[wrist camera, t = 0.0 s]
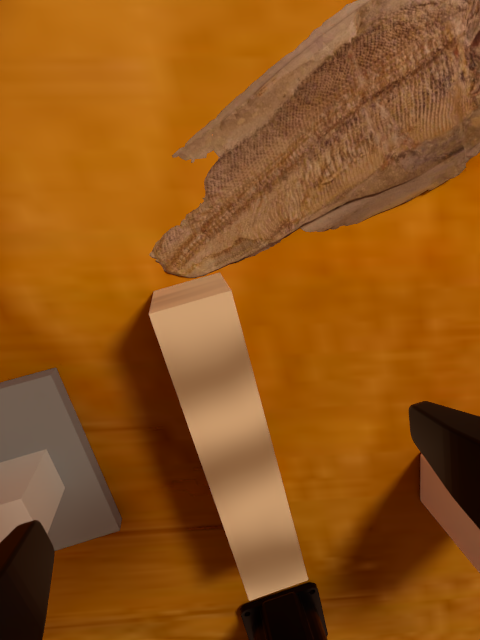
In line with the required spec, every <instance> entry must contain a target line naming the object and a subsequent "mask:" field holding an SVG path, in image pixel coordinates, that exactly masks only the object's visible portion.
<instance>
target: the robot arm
mask: <svg viewBox="0 0 480 640" xmlns="http://www.w3.org/2000/svg"><path fill="white" fill-rule="evenodd" d="M409 420H410V432H411V436H412V439H413V441H414V443H415V444H416V446H417V447H418V449H419V450H420V452H421V453H422V455H423V456H424V457H425V459H426V460H427V462H428V463H429V465H430V466H431V467H432V469H433V470H434V472H435V473H436V475H437V476H438V478H439V479H440V480H441V482H442V483H443V485H444V486H445V488H446V489H447V490H448V492H449V493H450V494H451V496H452V497H453V498H454V500H455V501H456V502H457V503H458V505H459V506H460V507H461V508H462V509H463V510H464V512H465V513H466V514H467V515H468V516H469V518H470V519H471V520H472V521H473V522H474V523H475V525H476V526H477V527H478V528H479V529H480V417H479V416H476V415H473V414H469V413H466V412H462V411H459V410H455V409H452V408H449V407H445V406H442V405H438V404H435V403H431V402H428V401H423V402H419V403H416V404H413V405H411V406H410V407H409ZM53 563H54V547H53V544H52V542H51V540H50V538H49V537H48V535H47V533H46V531H45V529H44V527H43V525H42V524H41V522H40V521H38V520H33V521H29V522H26V523H23V524H20V525H18V526H17V527H15V528H14V529H13V530H12V531H11V532H10V533H9V534H8V535H7V536H6V537H5V538H4V539H3V540H2V541H1V542H0V640H42V637H43V633H44V627H45V621H46V614H47V606H48V599H49V592H50V585H51V577H52V570H53ZM240 610H241V617H242V620H243V623H244V626H245V629H246V632H247V635H248V638H249V640H327V635H328V633H327V628H326V624H325V619H324V615H323V610H322V606H321V602H320V597H319V593H318V589H317V586H316V584H315V583H309V584H306V585H303V586H300V587H297V588H294V589H291V590H288V591H285V592H282V593H279V594H276V595H273V596H270V597H267V598H264V599H262V600H259V601H256V602H253V603H250V604H247V605H244V606H243V607H242V608H241V609H240Z"/></svg>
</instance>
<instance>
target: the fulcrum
mask: <svg viewBox="0 0 480 640" xmlns="http://www.w3.org/2000/svg"><path fill="white" fill-rule="evenodd" d="M33 520H38V521H40V522H41V524H42V525H43V527H44V529H45V531H46V533H47V535H48V537H49V538H50V540H51V542H52V544H53V547H54V551H56V550H59V549H62V548H66V547H69V546H72V545H75V544H78V543H81V542H85V541H88V540H91V539H94V538H97V537H101V536H104V535H107V534H110V533H113V532H117V531H120V527H121V521H122V518H121V516H120V513H119V511H118V509H117V506H116V504H115V502H114V499H113V497H112V495H111V493H110V490H109V488H108V486H107V483H106V481H105V479H104V477H103V474H102V472H101V470H100V467H99V465H98V463H97V460H96V458H95V456H94V454H93V451H92V449H91V447H90V444H89V442H88V440H87V438H86V435H85V433H84V431H83V428H82V426H81V424H80V421H79V419H78V417H77V415H76V412H75V410H74V408H73V405H72V403H71V401H70V399H69V396H68V394H67V392H66V389H65V387H64V385H63V382H62V380H61V378H60V376H59V373H58V371H57V369H56V368H53V369H49V370H45V371H42V372H38V373H34V374H31V375H27V376H23V377H20V378H16V379H12V380H9V381H5V382H1V383H0V542H1V541H2V540H3V539H4V538H5V537H6V536H7V535H8V534H9V533H10V532H11V531H12V530H13V529H14V528H15V527H17V526H18V525H20V524H23V523H26V522H29V521H33Z"/></svg>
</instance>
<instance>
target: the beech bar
mask: <svg viewBox="0 0 480 640" xmlns="http://www.w3.org/2000/svg"><path fill="white" fill-rule="evenodd" d="M149 316H150V319H151V322H152V325H153V328H154V331H155V333H156V336H157V339H158V342H159V345H160V348H161V351H162V353H163V356H164V359H165V362H166V365H167V368H168V370H169V373H170V376H171V379H172V382H173V385H174V388H175V390H176V393H177V396H178V399H179V402H180V405H181V407H182V410H183V413H184V416H185V419H186V422H187V425H188V427H189V430H190V433H191V436H192V439H193V442H194V445H195V447H196V450H197V453H198V456H199V459H200V462H201V464H202V467H203V470H204V473H205V476H206V479H207V482H208V484H209V487H210V490H211V493H212V496H213V499H214V501H215V504H216V507H217V510H218V513H219V516H220V519H221V521H222V524H223V527H224V530H225V533H226V536H227V538H228V541H229V544H230V547H231V550H232V553H233V556H234V558H235V561H236V564H237V567H238V570H239V573H240V575H241V578H242V581H243V584H244V587H245V590H246V593H247V595H248V598H249V601H251V600H254V599H256V598H259V597H262V596H265V595H267V594H270V593H273V592H276V591H279V590H281V589H284V588H287V587H290V586H293V585H295V584H298V583H301V582H304V581H307V580H308V577H307V573H306V569H305V565H304V562H303V558H302V554H301V550H300V547H299V543H298V539H297V535H296V532H295V528H294V524H293V520H292V517H291V513H290V509H289V505H288V502H287V498H286V494H285V490H284V487H283V483H282V479H281V475H280V472H279V468H278V464H277V460H276V457H275V453H274V449H273V445H272V442H271V438H270V434H269V430H268V427H267V423H266V419H265V415H264V412H263V408H262V404H261V400H260V397H259V393H258V389H257V385H256V382H255V378H254V374H253V370H252V367H251V363H250V359H249V355H248V351H247V348H246V344H245V340H244V336H243V333H242V329H241V325H240V321H239V318H238V314H237V310H236V306H235V303H234V299H233V295H232V291H231V289H230V288H229V286H228V285H227V283H226V281H225V280H224V278H223V277H222V275H221V274H220V273H216V274H213V275H209V276H206V277H202V278H199V279H195V280H192V281H188V282H185V283H181V284H178V285H174V286H170V287H167V288H163V289H160V290H156V291H154V292H153V297H152V302H151V306H150V311H149Z"/></svg>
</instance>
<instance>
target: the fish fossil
mask: <svg viewBox="0 0 480 640" xmlns="http://www.w3.org/2000/svg"><path fill="white" fill-rule="evenodd" d="M212 134H213V136H212ZM213 150H214V151H215V153H216V154H217V155H218V156H219V157H220V158H219V159H218V161H217V162H216V163H215V164H214V166H213V167H212V168H211V170H210V171H209V172H208V174H207V177H206V178H205V182H204V183H205V190H206V195H205V198H203V199H204V202H203V203H202V204H201V203H200V206H199V207H198V208H197V209H196V210H193V211H192V212H190V213H188V214H187V215H186V220H182V222H181V225H180V226H175V227H173V228H171V229H170V230H169V231H168V232H166V233H165V234H164V235H163V236H162V238H161V239H160V240H159V241H158V242H156V244H155V246H154V248H153V250H152V252H151V253H150V256H151V257H152V258H155V259H157V260H156V262H158V263H160V264H161V265H162V267H163V269H164V271H166V272H167V273H170V274H174V275H177V276H183V277H189V278H194V277H198V276H204V275H206V274H208V273H210V272H213V271H215V270H218V269H220V268H223V267H225V266H227V265H229V264H232V263H236V262H239V261H241V260H243V259H245V258H248V257H251V256H255V255H256V254H258V253H259V252H261V251H264V250H266V249H269V248H270V247H272V246H274V245H276V244H277V243H279V242H280V241H281V240H282V239H283V238H285V237H287V236H289V235H290V234H291V233H293V232H294V231H296V230H297V229H299V228H301V229H303V230H304V231H306V232H314V231H317V232H322V231H326V230H329V229H336V228H338V227H340V226H343V225H345V226H348V225H352V224H357V223H359V222H361V221H363V220H365V219H367V218H369V217H371V216H373V215H376V214H378V213H380V212H383V211H385V210H388V209H391V208H393V207H395V206H397V205H400V204H402V203H404V202H407V201H410V200H411V199H413V198H414V197H416V196H418V195H420V194H421V193H423V192H425V191H427V190H430V191H431V190H432V189H434V188H436V187H437V186H439V185H441V184H442V183H444V182H446V181H447V180H449V179H451V178H454V177H456V176H457V175H459V174H460V173H461V172H462V171H463V170H464V169H465V168H466V166H465V163H466V162H467V161H468V160H469V159H471V158H472V157H473V156H475V155H477V154H478V153H479V152H480V0H358V1H355V2H353V3H351V4H347V5H346V6H345V7H344V8H343V9H342V10H340V11H339V12H338V13H336V14H335V15H334V16H333V17H331V18H330V19H328V20H326V21H325V22H324V23H323V24H322V26H320V27H319V28H317V29H315V30H314V31H313V32H312V33H311V35H310V36H309V37H308V38H307V39H306V40H305V41H303V42H302V43H301V44H300V45H299V46H298V47H297V48H296V49H295V50H294V51H293V52H291V53H289V54H287V55H286V56H285V57H284V58H282V59H281V60H280V61H279V62H277V63H276V64H275V65H274V66H272V67H271V68H270V69H269V70H268V71H267V72H265V73H264V74H263V75H262V76H261V77H260V78H259V79H257V80H256V81H255V82H253V83H252V84H251V85H250V86H249V87H248V88H247V89H246V90H245V91H244V92H243V93H242V94H240V95H239V96H237V97H236V98H235V99H234V100H233V101H232V102H231V103H230V104H229V105H228V106H227V107H225V108H224V109H223V110H222V111H221V112H220V114H219V115H218V116H217V117H216V119H214V120H212V121H210V122H209V123H208V124H207V125H206V126H205V127H204V128H203V129H201V130H200V131H199V132H198V133H196V134H195V135H194V136H193V137H192V138H191V139H190V140H189V141H188V142H187V143H186V145H185V147H183V148H180V149H179V150H178V151H177V152H176V153H174V154H173V155H172V156H173V157H177V156H179V157H181V158H182V159H184V160H189V159H192V161H191V163H193V162H194V159H201V158H206V155H207V153H209V152H211V151H213Z"/></svg>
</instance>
